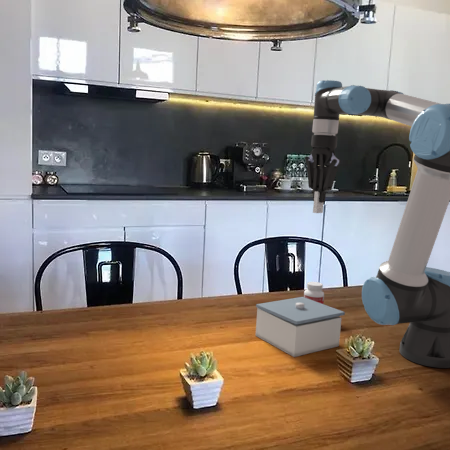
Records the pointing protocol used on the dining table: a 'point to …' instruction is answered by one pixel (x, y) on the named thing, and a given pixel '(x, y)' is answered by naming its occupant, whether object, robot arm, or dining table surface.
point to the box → (298, 333)
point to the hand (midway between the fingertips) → (317, 212)
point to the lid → (300, 310)
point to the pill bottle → (314, 292)
